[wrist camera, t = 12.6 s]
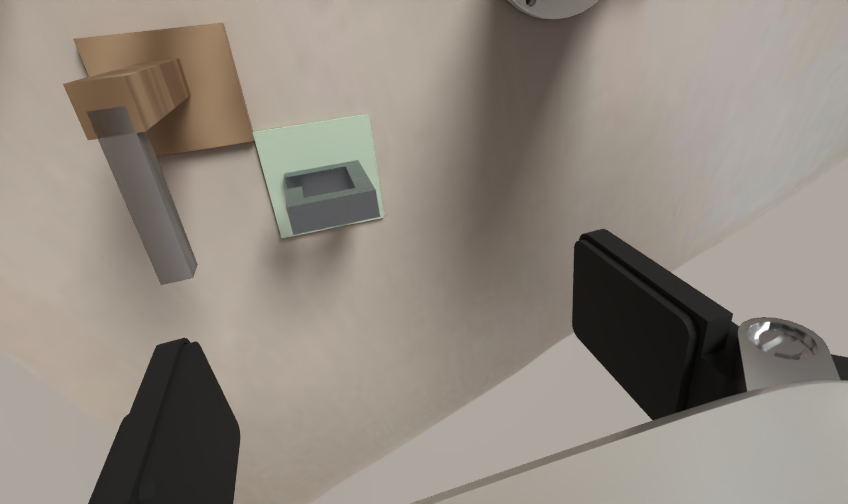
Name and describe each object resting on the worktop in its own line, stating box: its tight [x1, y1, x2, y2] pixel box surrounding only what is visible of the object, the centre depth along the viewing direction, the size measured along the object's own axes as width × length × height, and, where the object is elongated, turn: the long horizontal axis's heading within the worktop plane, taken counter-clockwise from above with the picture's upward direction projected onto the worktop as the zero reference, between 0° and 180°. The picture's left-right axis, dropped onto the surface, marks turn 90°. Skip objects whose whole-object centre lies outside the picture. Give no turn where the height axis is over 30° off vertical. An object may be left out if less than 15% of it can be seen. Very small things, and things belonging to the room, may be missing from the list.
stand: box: [63, 23, 254, 285], centre depth 28 cm, size 9×12×14 cm
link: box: [284, 160, 380, 235], centre depth 34 cm, size 6×2×8 cm, turn 97°
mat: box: [253, 114, 384, 238], centre depth 38 cm, size 9×9×1 cm
